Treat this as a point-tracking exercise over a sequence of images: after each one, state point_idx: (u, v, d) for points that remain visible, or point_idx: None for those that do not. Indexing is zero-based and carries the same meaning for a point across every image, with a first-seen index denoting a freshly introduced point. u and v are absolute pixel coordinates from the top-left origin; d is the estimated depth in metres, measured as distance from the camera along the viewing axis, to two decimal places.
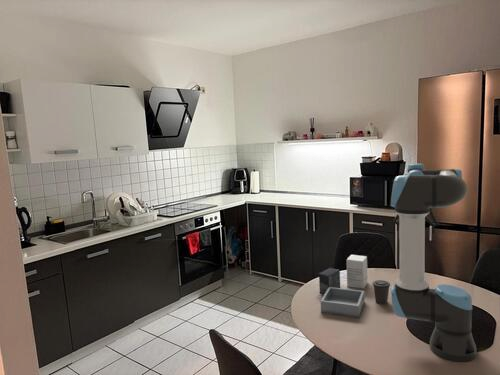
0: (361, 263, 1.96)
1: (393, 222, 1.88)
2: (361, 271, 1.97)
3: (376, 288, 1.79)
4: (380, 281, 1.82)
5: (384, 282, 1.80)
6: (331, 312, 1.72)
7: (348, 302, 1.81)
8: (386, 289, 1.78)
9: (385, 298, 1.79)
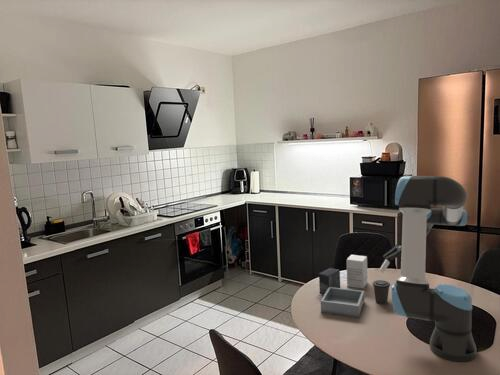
0: (361, 263, 1.96)
1: (383, 255, 1.94)
2: (361, 271, 1.97)
3: (376, 288, 1.79)
4: (380, 281, 1.82)
5: (384, 282, 1.80)
6: (331, 312, 1.72)
7: (348, 302, 1.81)
8: (386, 289, 1.78)
9: (385, 298, 1.79)
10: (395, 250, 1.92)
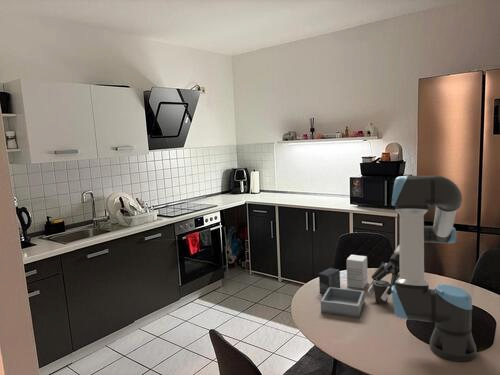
0: (361, 263, 1.96)
1: None
2: (361, 271, 1.97)
3: (376, 288, 1.79)
4: (380, 281, 1.82)
5: (384, 282, 1.80)
6: (331, 312, 1.72)
7: (348, 302, 1.81)
8: None
9: None
10: (382, 268, 1.88)
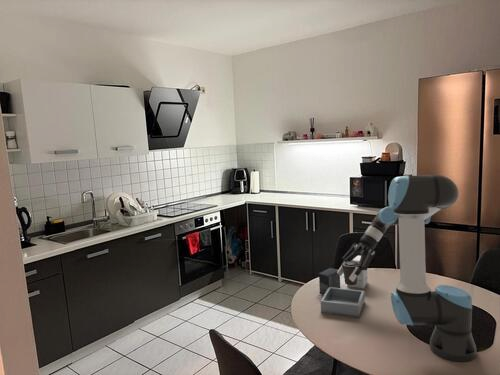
0: None
1: (342, 258, 1.85)
2: (361, 271, 1.97)
3: (345, 269, 1.76)
4: (349, 262, 1.79)
5: (353, 263, 1.77)
6: (331, 312, 1.72)
7: (348, 302, 1.81)
8: None
9: None
10: (353, 250, 1.85)
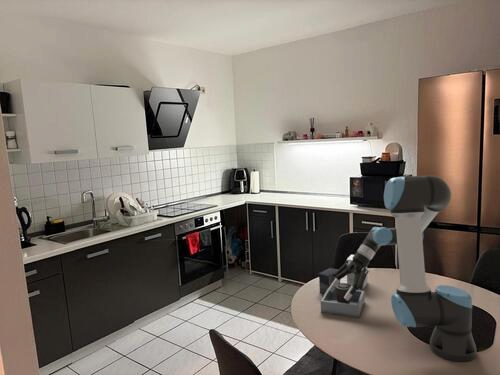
0: None
1: (333, 274, 1.85)
2: None
3: (338, 291, 1.75)
4: (342, 284, 1.78)
5: (346, 285, 1.76)
6: (331, 312, 1.72)
7: None
8: None
9: (347, 301, 1.75)
10: (345, 267, 1.84)
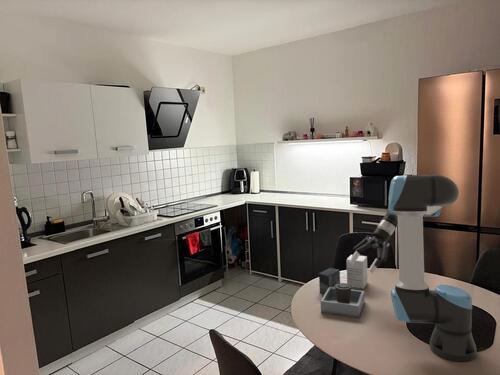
0: (361, 263, 1.96)
1: None
2: (361, 271, 1.97)
3: (338, 291, 1.75)
4: (342, 284, 1.78)
5: (346, 285, 1.77)
6: (331, 312, 1.72)
7: None
8: (347, 292, 1.74)
9: (347, 301, 1.75)
10: (365, 242, 1.89)
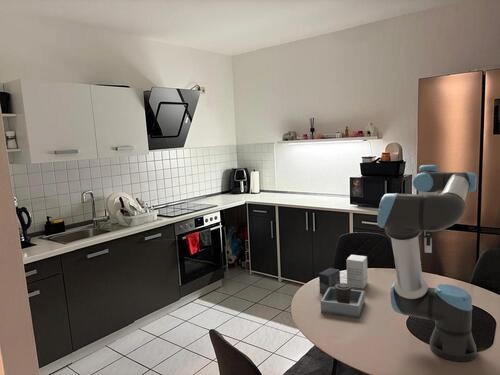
0: (361, 263, 1.96)
1: None
2: (361, 271, 1.97)
3: (338, 291, 1.75)
4: (342, 284, 1.78)
5: (346, 285, 1.76)
6: (331, 312, 1.72)
7: None
8: (347, 292, 1.74)
9: (347, 301, 1.75)
10: None
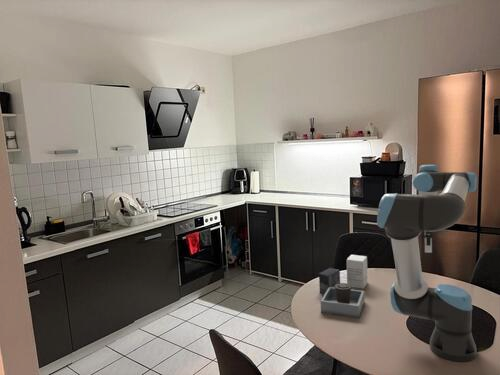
0: (361, 263, 1.96)
1: None
2: (361, 271, 1.97)
3: (337, 291, 1.75)
4: (342, 284, 1.78)
5: (346, 285, 1.76)
6: (331, 312, 1.72)
7: None
8: (347, 292, 1.74)
9: (347, 301, 1.75)
10: None
